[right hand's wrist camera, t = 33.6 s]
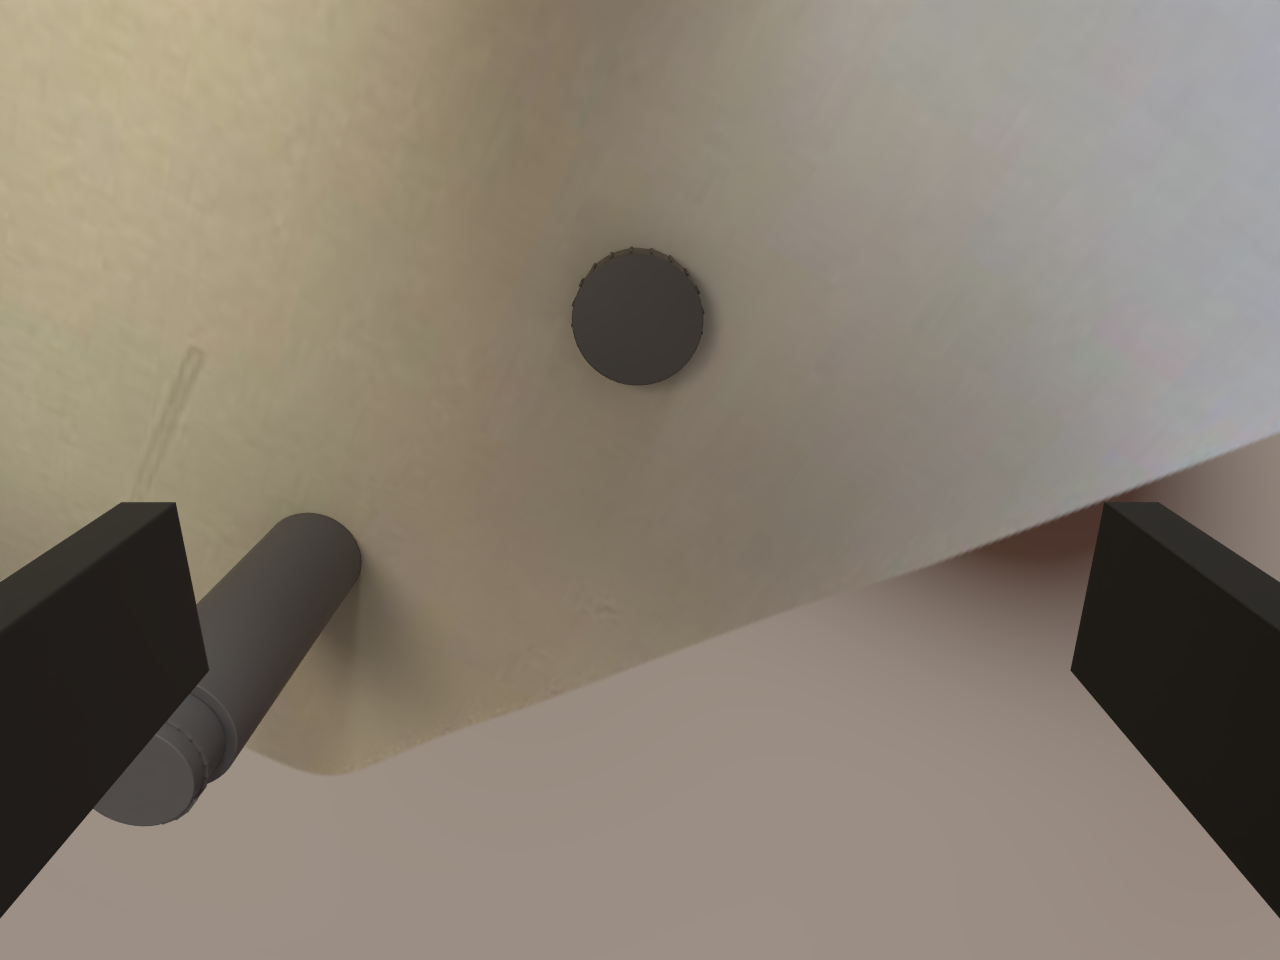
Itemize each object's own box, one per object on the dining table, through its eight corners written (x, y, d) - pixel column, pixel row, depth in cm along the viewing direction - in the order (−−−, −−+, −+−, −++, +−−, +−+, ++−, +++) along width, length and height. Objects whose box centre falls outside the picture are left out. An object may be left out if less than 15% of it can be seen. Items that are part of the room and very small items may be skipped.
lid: (572, 369, 38) (568, 382, 36) (576, 242, 36) (572, 248, 34) (695, 376, 38) (698, 390, 36) (705, 250, 36) (710, 256, 34)
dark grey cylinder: (248, 563, 41) (30, 787, 27) (296, 494, 40) (96, 689, 25) (330, 615, 42) (163, 859, 28) (379, 549, 41) (233, 767, 26)
